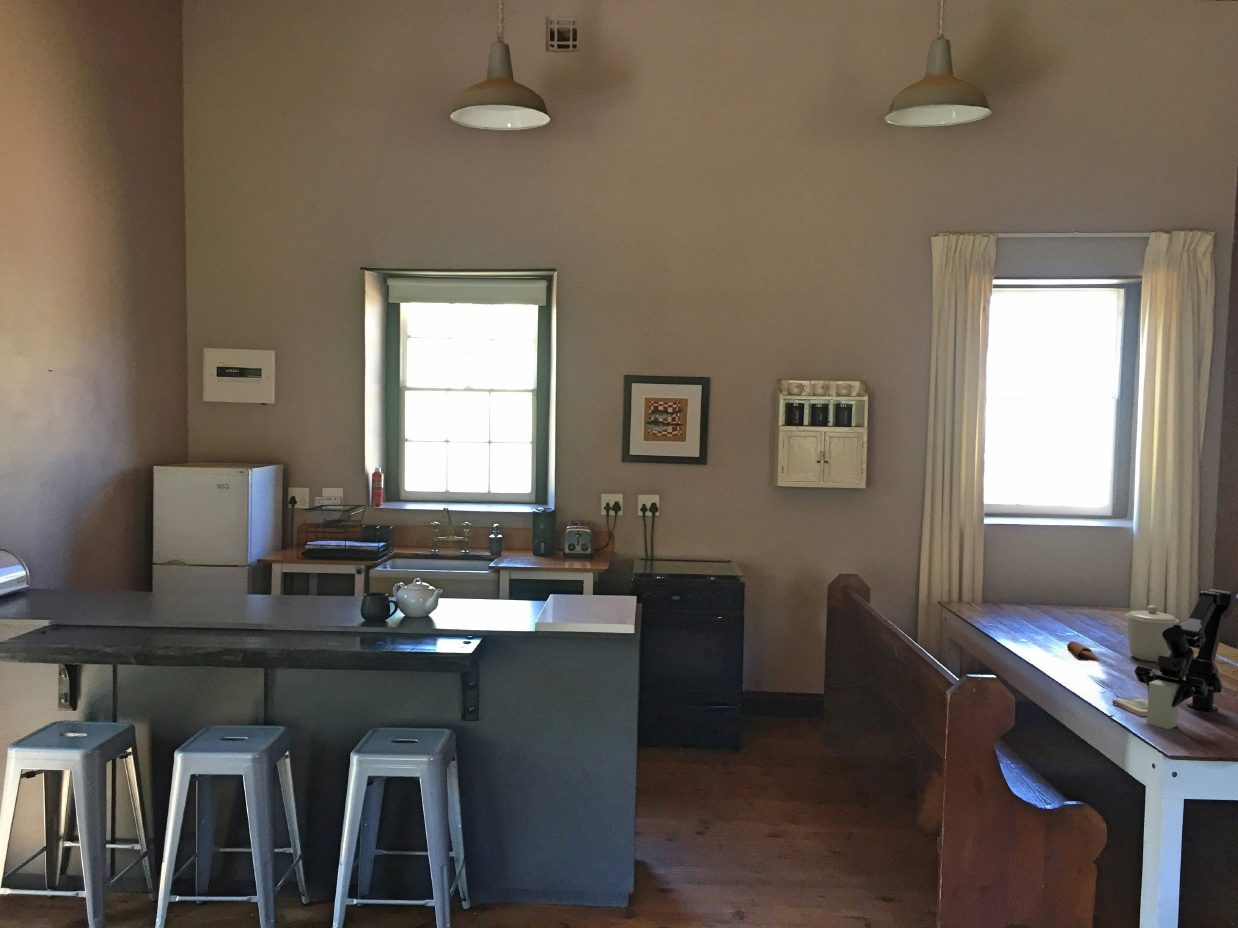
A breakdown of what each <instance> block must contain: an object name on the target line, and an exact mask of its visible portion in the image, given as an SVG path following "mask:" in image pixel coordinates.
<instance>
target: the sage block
mask: <svg viewBox="0 0 1238 928" xmlns="http://www.w3.org/2000/svg"><path fill="white" fill-rule="evenodd" d="M1178 690H1179V684H1175V683H1171V682H1166V681H1162V680H1155V681H1152V682H1149V693H1148V692H1147V700H1148V711H1147V716H1146V724H1147V725H1149V726H1154V727H1159V728H1163V729H1166V730H1170V729H1172V728H1175V727H1177V726H1178V718H1179V715H1178V714H1179V704H1178V705H1177V706H1175V707H1172V703H1173V700H1174V698H1175V696H1176V694H1177V692H1178Z"/></svg>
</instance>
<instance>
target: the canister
mask: <svg viewBox="0 0 1238 928" xmlns="http://www.w3.org/2000/svg"><path fill="white" fill-rule="evenodd" d="M1124 615H1125V618H1126V623H1127V624H1126V625H1127V635H1128V637H1127V638H1128V648H1129V652H1130V655H1131V657H1133V658H1135V659H1137V660H1140V661H1144V660H1145V661H1146V662H1152V663H1157V660H1158V656H1159V655H1161V656H1166V657H1169V655H1170V653H1171V651H1170V650H1168V648H1167V645H1166V643H1165V641H1164V638H1163V636H1162V634H1163V631H1165V630H1166V629H1167V628H1170V627H1173V626H1174V624H1175V625H1178V623H1180V620H1179V619H1178V618H1176V617H1175V616H1174V615H1172V614H1168V613H1165V612H1158V607H1157V606H1156V605H1148V606H1147V608H1146V610H1132V611H1129V612H1127V613H1125V614H1124Z"/></svg>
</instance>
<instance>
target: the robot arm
mask: <svg viewBox="0 0 1238 928" xmlns="http://www.w3.org/2000/svg"><path fill="white" fill-rule="evenodd" d="M1237 602H1238V598H1237V595H1234V592H1233V591H1228V590H1222V589H1221V590H1220V589H1214V588H1210V589H1209V590H1201V591H1200V593H1199V599H1198V600H1197V602H1196V604H1195V606H1194V607H1193V610H1192V611H1191V613H1190V615H1189V617H1188V619H1186V620H1185V621H1183V622H1179V623H1180V624H1177V625H1175V624H1174V626H1173V627H1170V628H1167V629H1166V630H1165V631H1163V634H1162V636H1163V638H1164V641H1165V643H1166V645H1167V648H1168V650H1170V651H1171V653H1170V655H1169V657H1166V656H1161V655H1159V656H1158V660H1157V662H1156V667H1158V672H1159V673H1156V672H1154V671H1153V669H1152V668H1151V667H1148V666H1145V665H1137V666H1136V667H1135V669H1134V674H1135V676H1136V679H1137V681H1138V682H1139V683H1141V684H1145V685H1146V686H1147V694H1148V693H1149V682H1152V681H1155V680H1162V681H1166V682H1171V683H1175V684H1179V690H1178V692H1177V694H1176V696H1175V698H1174V700H1173V703H1172V707H1175V706H1177V705H1178V706H1179V705H1180V704H1181V703H1182V702H1184V701H1186V700H1188V699H1190V698H1192V700H1191V702H1192V703H1188V704H1187V705H1186V707H1189V708H1192V709H1193V708H1194V709H1196V710H1201V711H1204V712H1212V711H1216V710H1219V707H1217V706H1216V705H1215V706H1214V701H1215V694H1216V693H1217V694H1218V693H1219V694H1221V693H1222V689H1223V683H1222V680H1221V679H1220V676H1219V669H1218V667H1217V664H1216V658H1217V657H1216V656H1217V652H1218V648H1219V644H1220V641H1221V640H1220V639H1221V636H1222V631H1223V628H1224V623H1225V619H1227V618H1228V617H1229V616H1231V614H1233V611H1234V608H1235V607H1236V605H1237V604H1238V603H1237ZM1193 648H1195V649H1198V652H1197V655H1196V657H1195V651H1194V649H1193ZM1160 673H1161V674H1160Z"/></svg>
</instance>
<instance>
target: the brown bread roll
mask: <svg viewBox="0 0 1238 928" xmlns="http://www.w3.org/2000/svg"><path fill="white" fill-rule="evenodd" d="M1066 647H1067V650H1069V651H1070V652H1071V653H1072V654H1073V655H1074V656H1075V657H1076V658H1077V659H1078V660H1079V661H1080V660H1081V661H1089V660H1091V661H1092V662H1100V659H1099V657H1098V656H1097V654H1095V653H1094V652H1093V650H1092V649H1091V648H1089V647H1087V646H1086V645H1084V644H1082V643H1079V642H1076V641H1069V642H1068V643H1067V645H1066ZM1091 661H1090V662H1091Z"/></svg>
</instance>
